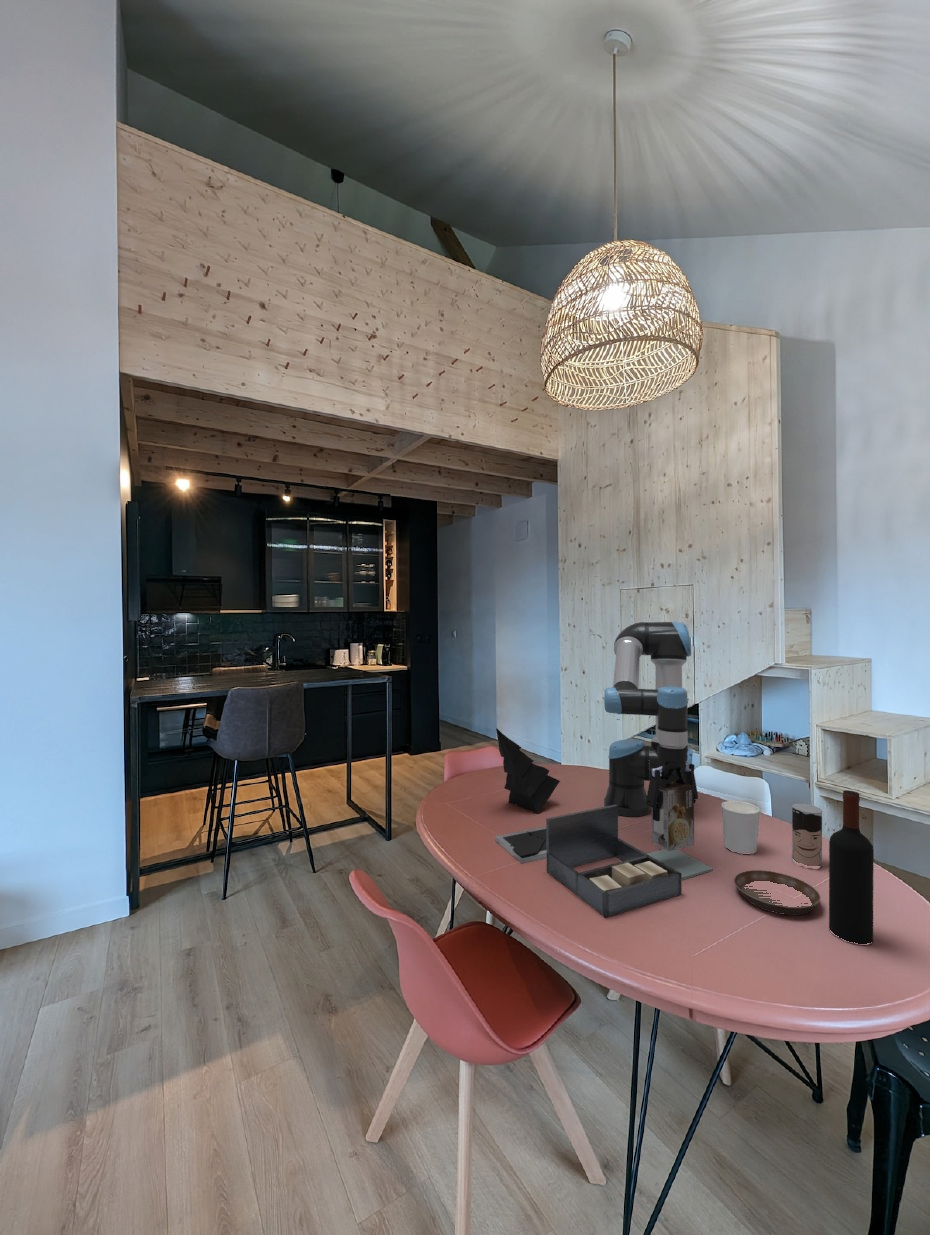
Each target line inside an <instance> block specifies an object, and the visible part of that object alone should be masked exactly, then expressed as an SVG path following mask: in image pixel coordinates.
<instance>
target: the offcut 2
mask: <svg viewBox="0 0 930 1235" xmlns="http://www.w3.org/2000/svg"><path fill="white" fill-rule="evenodd" d="M634 867H636V868H638V869H639V870H641V871H642V872H644V873H645V881H647V880H651V879H655V878H658V877H662V876H665V875H667V871H666V870H664V869H662V868H661V867H659V866H657V865H655V864H654V863H652V862H650V861H647V862H644V863H640V864H636V865H634Z"/></svg>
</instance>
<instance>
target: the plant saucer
mask: <svg viewBox="0 0 930 1235" xmlns="http://www.w3.org/2000/svg"><path fill="white" fill-rule="evenodd" d="M754 881H770V882H773V883H777V884H785V885H787V886H788V887H793V888H794V889H795V890H797V891H800V892H802V894H804V895H806V897H809V899H810V901H811V903H812V905H811V906H801V907H799V906H797V907H788V906H783V905H775V904H782V903H777V902H773V903H772V901H776V900H772V899H770V898H759V897H771V896H763V895H758V894H769V893H767V892H766V893H763V892H754V891H767V890H757V889H749V888H746V889H745V888H744V887H748V886H745V885H746V884H750V883H751V882H754ZM733 883H734V886H735V887H736V888H737V890H738V892H739V893H740V894H741V896H743V897H744V899H745V900H747V901H748V902H749V903H751V904H752V905H754V906H756V907H758V908H760V909H762V908H763V909H762V910H764V909H766V910H765V911H767V910H769V911H768V912H771V911H774V912H777V913H776V914H779V913H784V914H783V915H785V914H800V915H805V914H807V913H809V912H811V911H813V909H815V908H816V907H817V906H818V904H819V903H820V902H821V896H820V893H819V892H818V891H817V889H815V888H814V886H812V885H810V884H809V883H807V882H806V881H804V880H801V879H799V878H797V877H793V876H791V875H787V874H784V873H780V872H775V871H769V870H761V869H760V870H759V869H756V870H755V869H754V870H753V869H752V870H745V871H741V872H739V873H737V874H736V875H735V876H734V878H733ZM749 887H753V886H749ZM770 894H771V893H770ZM769 901H770V902H769ZM777 901H780V900H777ZM801 904H802V903H801ZM804 904H808V903H804ZM774 912H773V913H774ZM804 913H805V914H804Z"/></svg>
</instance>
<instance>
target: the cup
mask: <svg viewBox="0 0 930 1235" xmlns="http://www.w3.org/2000/svg"><path fill="white" fill-rule="evenodd" d="M791 807H792V808H791V809H792V813H791V814H792V816H791V817H792V819H791V820H792V824H791V828H792V829H791V834H792V836H791V838H792V839H791V840H792V842H791V843H792V844H791V848H792V850H791V852H792V853H791V854H792V855H791V858H793V859H794V860H795V861H796V862H798V863H802V864H804V865H807V866H821V865H822V866H823V810H822V808H820V807H819V806H815V805H812V804H808V803H794V804H792V806H791Z"/></svg>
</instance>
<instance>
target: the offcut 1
mask: <svg viewBox="0 0 930 1235" xmlns="http://www.w3.org/2000/svg"><path fill="white" fill-rule="evenodd" d="M589 880H590V881H591V882H592V883H594V884H595V885H597V886H598V887H599V888H601V889H602V890H603V891H605V892H609V891H612V890H616V889H619V888H622V887H621V886H620V885H619V884H617V883H616V882H615V881H614V880H613V879H611V878H610V877H609V876H608V875H605V876H600V877H594V878H589Z"/></svg>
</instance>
